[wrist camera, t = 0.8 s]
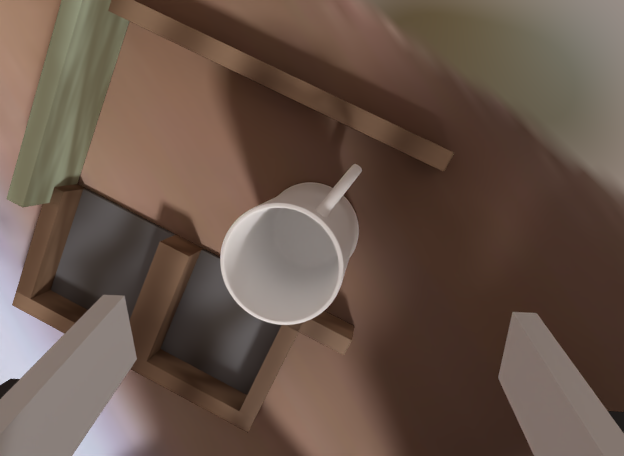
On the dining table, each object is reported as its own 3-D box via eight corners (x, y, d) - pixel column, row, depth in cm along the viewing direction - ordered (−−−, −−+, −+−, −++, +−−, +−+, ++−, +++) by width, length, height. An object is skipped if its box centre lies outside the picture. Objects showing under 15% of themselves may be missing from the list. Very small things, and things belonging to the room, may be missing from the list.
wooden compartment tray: (448, 152, 35) (461, 153, 30) (295, 433, 43) (281, 479, 37) (119, -5, 37) (70, -33, 32) (28, 290, 45) (-25, 311, 39)
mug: (333, 133, 37) (309, 128, 25) (405, 201, 37) (415, 228, 25) (247, 230, 40) (190, 265, 28) (314, 293, 40) (285, 354, 28)
